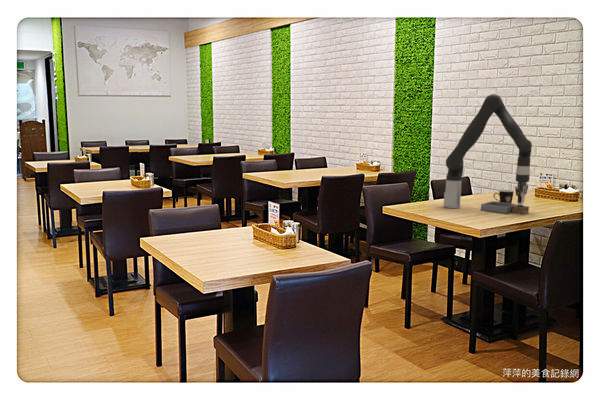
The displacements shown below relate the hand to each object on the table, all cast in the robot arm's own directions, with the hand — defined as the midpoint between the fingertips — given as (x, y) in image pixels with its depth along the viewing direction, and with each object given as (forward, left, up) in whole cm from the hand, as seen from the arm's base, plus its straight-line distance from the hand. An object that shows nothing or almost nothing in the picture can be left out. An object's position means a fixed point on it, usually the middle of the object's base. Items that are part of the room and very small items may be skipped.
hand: (520, 202), depth 326 cm
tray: (-12, -1, -7) cm, 14 cm away
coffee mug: (-17, +15, -7) cm, 24 cm away
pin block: (0, 0, -7) cm, 7 cm away
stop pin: (0, 0, -5) cm, 5 cm away
